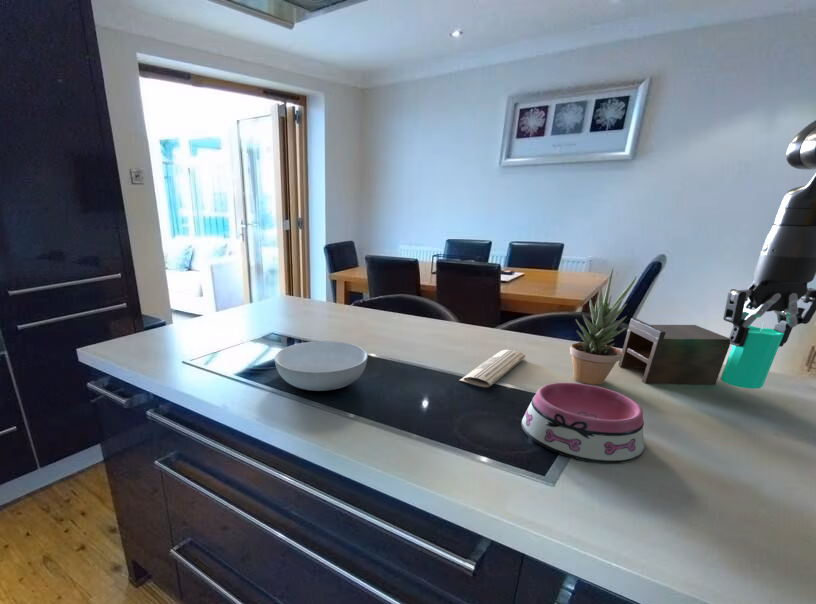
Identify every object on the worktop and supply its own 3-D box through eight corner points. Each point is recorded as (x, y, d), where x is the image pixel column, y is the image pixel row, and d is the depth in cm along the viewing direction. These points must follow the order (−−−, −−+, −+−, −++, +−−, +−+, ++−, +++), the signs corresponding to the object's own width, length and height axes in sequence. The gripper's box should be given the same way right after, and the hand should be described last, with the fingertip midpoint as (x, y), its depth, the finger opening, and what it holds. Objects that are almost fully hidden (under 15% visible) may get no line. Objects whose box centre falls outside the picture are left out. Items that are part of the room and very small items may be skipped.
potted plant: (617, 377, 99) (648, 266, 90) (609, 391, 93) (641, 272, 83) (568, 368, 106) (591, 262, 96) (557, 380, 99) (581, 268, 89)
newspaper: (489, 388, 96) (491, 381, 95) (458, 381, 100) (459, 373, 99) (524, 359, 112) (526, 352, 111) (496, 353, 116) (497, 347, 115)
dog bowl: (657, 434, 76) (668, 399, 73) (624, 478, 65) (636, 438, 62) (545, 402, 89) (552, 370, 86) (502, 434, 78) (508, 399, 75)
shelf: (681, 366, 105) (697, 318, 100) (715, 384, 95) (734, 332, 90) (618, 365, 106) (630, 318, 102) (645, 383, 96) (660, 331, 92)
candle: (762, 391, 81) (788, 328, 76) (719, 383, 85) (741, 323, 80) (762, 381, 85) (786, 321, 80) (721, 374, 89) (742, 316, 84)
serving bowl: (291, 363, 113) (290, 338, 111) (372, 369, 108) (373, 343, 105) (262, 397, 95) (260, 367, 92) (358, 406, 90) (359, 375, 87)
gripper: (763, 256, 73) (728, 352, 80) (862, 254, 71) (818, 352, 78) (728, 250, 80) (699, 339, 86) (818, 248, 78) (781, 339, 85)
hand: (755, 345), depth 82 cm, fingers closed on candle, 6 cm apart
